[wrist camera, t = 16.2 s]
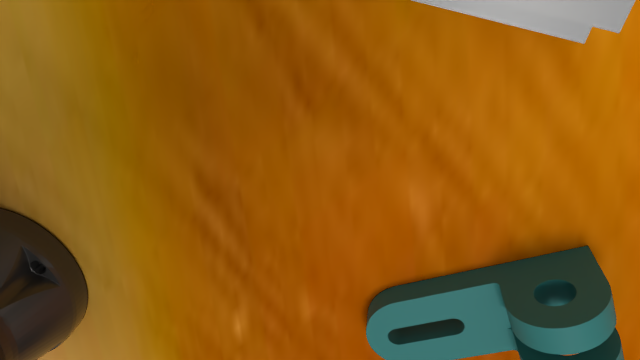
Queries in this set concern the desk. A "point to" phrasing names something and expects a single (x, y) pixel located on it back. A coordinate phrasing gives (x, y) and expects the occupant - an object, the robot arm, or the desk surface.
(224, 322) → the desk surface
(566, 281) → the bracket
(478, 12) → the socket holder
